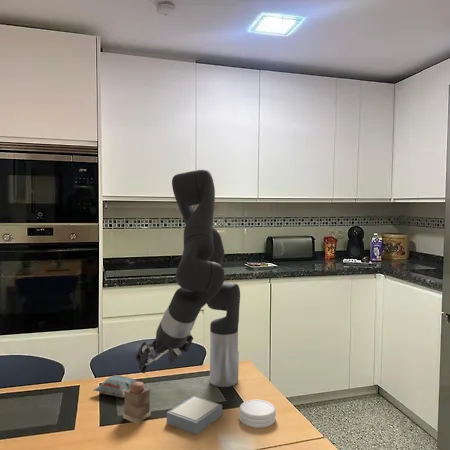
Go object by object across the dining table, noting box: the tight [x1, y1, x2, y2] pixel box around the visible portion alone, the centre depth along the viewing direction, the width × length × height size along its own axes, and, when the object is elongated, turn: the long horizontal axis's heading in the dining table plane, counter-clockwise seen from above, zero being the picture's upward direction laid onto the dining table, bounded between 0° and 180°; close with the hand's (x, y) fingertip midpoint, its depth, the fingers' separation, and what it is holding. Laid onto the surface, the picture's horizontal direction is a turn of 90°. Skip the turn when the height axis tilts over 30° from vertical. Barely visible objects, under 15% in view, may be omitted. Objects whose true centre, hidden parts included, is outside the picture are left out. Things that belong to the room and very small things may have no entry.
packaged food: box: [93, 374, 138, 398], centre depth 131 cm, size 9×12×5 cm
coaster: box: [238, 399, 277, 429], centre depth 117 cm, size 10×10×4 cm
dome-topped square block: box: [123, 381, 152, 424], centre depth 117 cm, size 5×5×9 cm
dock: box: [166, 395, 223, 435], centre depth 116 cm, size 12×10×3 cm
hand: (156, 365), depth 110 cm, fingers open, 8 cm apart
